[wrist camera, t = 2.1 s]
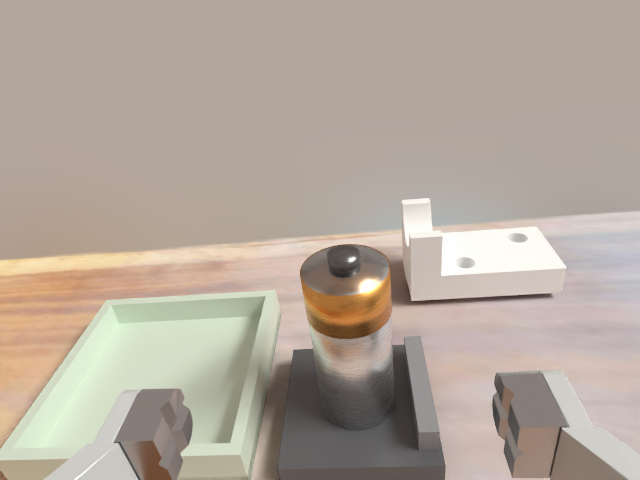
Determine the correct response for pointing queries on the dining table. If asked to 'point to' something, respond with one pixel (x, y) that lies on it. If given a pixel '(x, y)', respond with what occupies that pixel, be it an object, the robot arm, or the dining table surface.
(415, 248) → the bracket
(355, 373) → the battery cell
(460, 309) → the dining table surface
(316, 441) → the block
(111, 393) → the tray
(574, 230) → the dining table surface
